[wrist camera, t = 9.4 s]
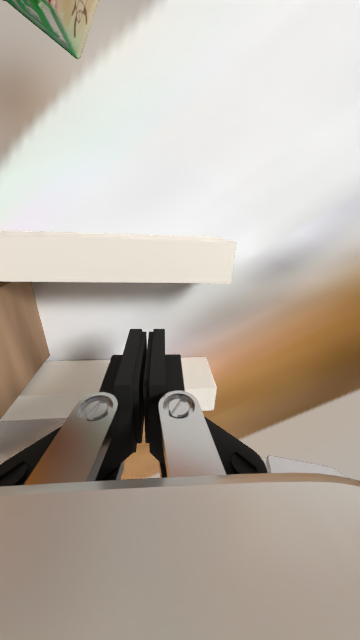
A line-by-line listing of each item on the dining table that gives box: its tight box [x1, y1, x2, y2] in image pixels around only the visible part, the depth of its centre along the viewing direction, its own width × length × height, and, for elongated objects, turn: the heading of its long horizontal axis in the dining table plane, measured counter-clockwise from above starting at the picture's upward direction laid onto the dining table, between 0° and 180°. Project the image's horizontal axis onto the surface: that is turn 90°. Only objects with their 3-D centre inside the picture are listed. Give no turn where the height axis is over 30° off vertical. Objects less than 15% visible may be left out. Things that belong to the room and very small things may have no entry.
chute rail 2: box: [0, 357, 217, 421], centre depth 16 cm, size 14×2×4 cm, turn 88°
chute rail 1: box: [0, 230, 236, 283], centre depth 12 cm, size 14×2×4 cm, turn 88°
